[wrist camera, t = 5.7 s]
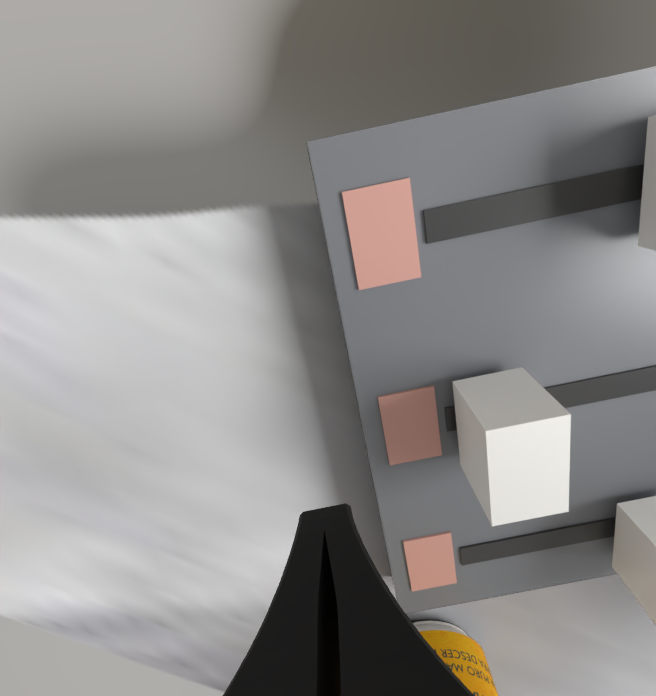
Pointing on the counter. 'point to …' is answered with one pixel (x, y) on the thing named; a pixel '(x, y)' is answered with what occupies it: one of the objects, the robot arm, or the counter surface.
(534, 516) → the block
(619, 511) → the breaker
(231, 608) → the counter surface
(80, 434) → the counter surface
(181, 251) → the counter surface
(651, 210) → the block
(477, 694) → the yellow and white cylinder
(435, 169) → the breaker board
